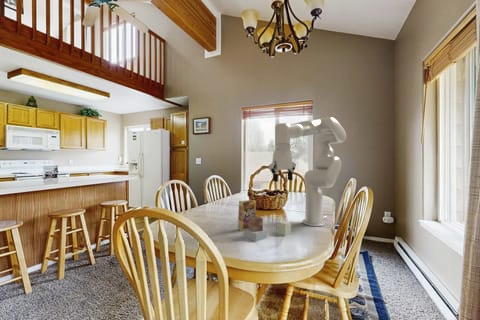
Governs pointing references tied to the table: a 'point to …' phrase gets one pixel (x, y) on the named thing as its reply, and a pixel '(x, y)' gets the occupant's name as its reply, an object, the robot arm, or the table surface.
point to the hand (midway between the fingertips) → (282, 180)
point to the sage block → (283, 227)
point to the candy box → (245, 213)
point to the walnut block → (255, 223)
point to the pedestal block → (255, 235)
